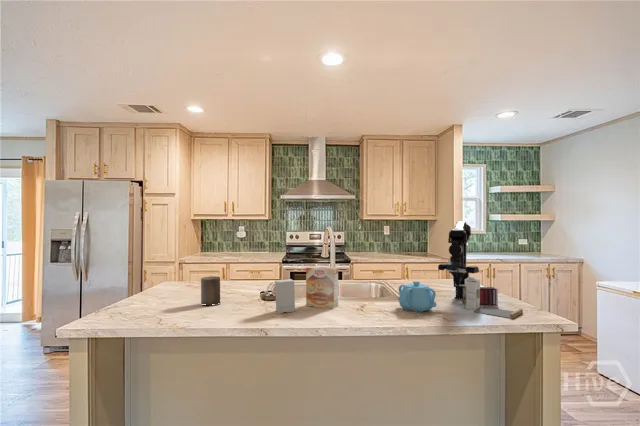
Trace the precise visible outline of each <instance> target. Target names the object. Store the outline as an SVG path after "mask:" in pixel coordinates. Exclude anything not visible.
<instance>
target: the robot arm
mask: <svg viewBox="0 0 640 426" xmlns="http://www.w3.org/2000/svg"><path fill="white" fill-rule="evenodd" d="M471 236H472V229H471V226H470V225H469V224H468V223H467V221H459V220H458V221H456V223H455V225H454V228H451V229H450V231H448V241H447V242H448V244H451V245H449V247H448V253H449V254H450V255H451V256H450V258H449V260H448V261H447V262H446V263H440V264H438V267H437V270H438V271H445V270H447V271H448V273H449V274H451V275H452V277H453V278H452V280H453V281H452V282H453V287H454V288H455V296H454V299H456V300H457V299H458V300H463V287H465V279H466V278H469V277H470V274H478V273H479V272H480V271H479V269H480V268H479V267H478V266H475V265H468V266H467V247H468V246H467V244H468V243H469V241H470V240H471Z"/></svg>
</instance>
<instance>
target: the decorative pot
mask: <svg viewBox="0 0 640 426" xmlns="http://www.w3.org/2000/svg"><path fill="white" fill-rule="evenodd" d="M398 293H399V296H398V298H397V299H398V302H399V306H400V307H401V308H402V309H404V311H407V310H409V311H416V313H419V314H422V313H423V312H426V311H429V310H432V309H433V308H436V307H437V302H436V301H435V299H436V296H437V295H436V294H437V293H436V291H435V289H434V288H432V287H430V286H429V285H428V284H421V282H420V281H418V280H414V281H412V283H408V284H401V285H399V286H398Z"/></svg>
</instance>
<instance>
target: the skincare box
mask: <svg viewBox="0 0 640 426" xmlns="http://www.w3.org/2000/svg"><path fill="white" fill-rule="evenodd" d="M274 284H275V285H274V288H275V311H276V312H277V314H284V313H283V312H287V313H294V311H295V312H296V304H295V303H296V301H295V299H296V298H295V297H296V296H295V294H296V293H295V292H296V291H295V280H293V279H292V278H288V279H279V280H277V279H276V280H274Z"/></svg>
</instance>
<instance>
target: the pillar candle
mask: <svg viewBox="0 0 640 426" xmlns="http://www.w3.org/2000/svg"><path fill="white" fill-rule="evenodd" d="M200 303H201V304H206V305H212V304H218V303H220V304H221V277H220V276H204V277H200ZM201 304H200V305H201Z"/></svg>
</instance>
